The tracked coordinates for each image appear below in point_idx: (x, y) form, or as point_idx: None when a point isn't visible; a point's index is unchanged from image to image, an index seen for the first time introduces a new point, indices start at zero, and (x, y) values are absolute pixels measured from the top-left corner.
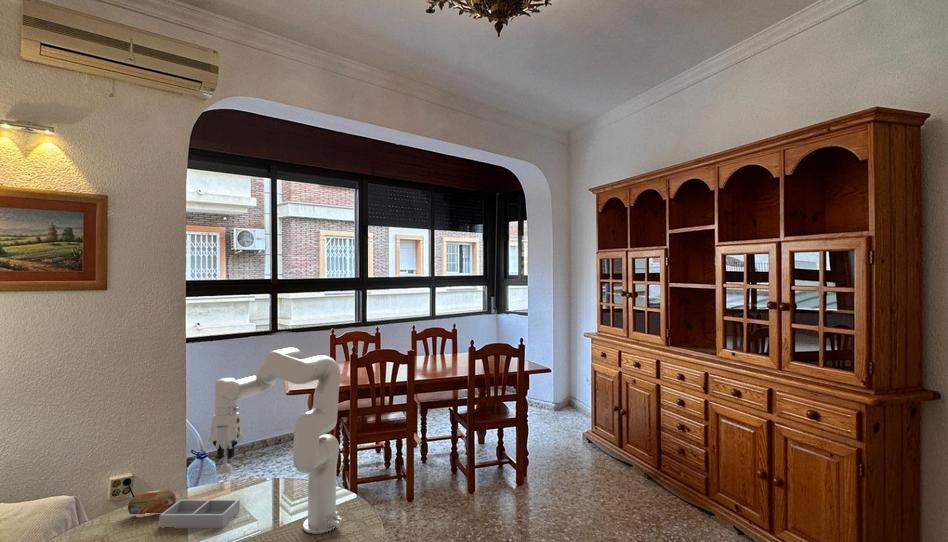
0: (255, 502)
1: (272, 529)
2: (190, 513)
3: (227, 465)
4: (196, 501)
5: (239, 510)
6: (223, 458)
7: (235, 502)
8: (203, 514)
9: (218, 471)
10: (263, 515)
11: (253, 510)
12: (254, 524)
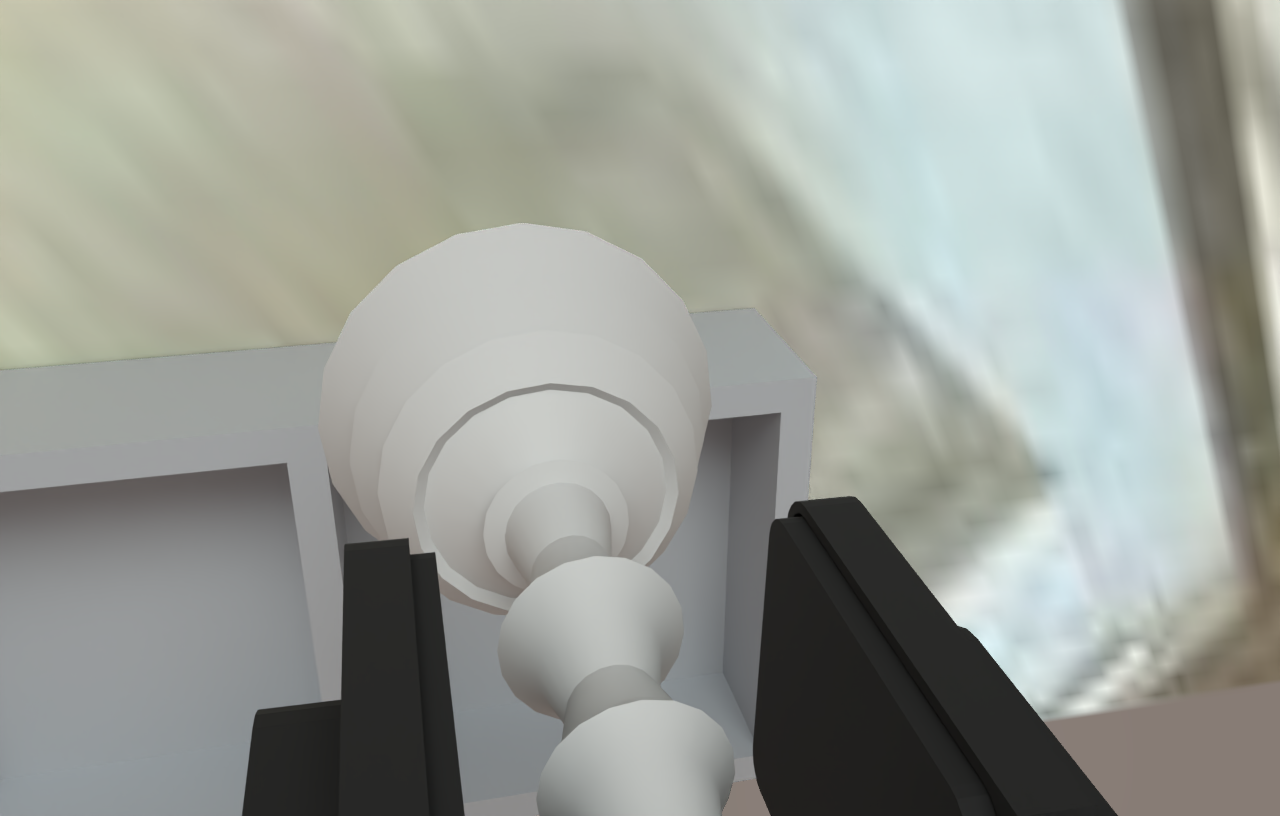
0: (872, 11)
1: (1246, 614)
2: (93, 514)
3: (636, 526)
4: (69, 476)
5: (759, 315)
6: (535, 704)
7: (795, 470)
8: (521, 803)
9: (344, 492)
10: (1093, 371)
11: (930, 260)
12: (1049, 559)
